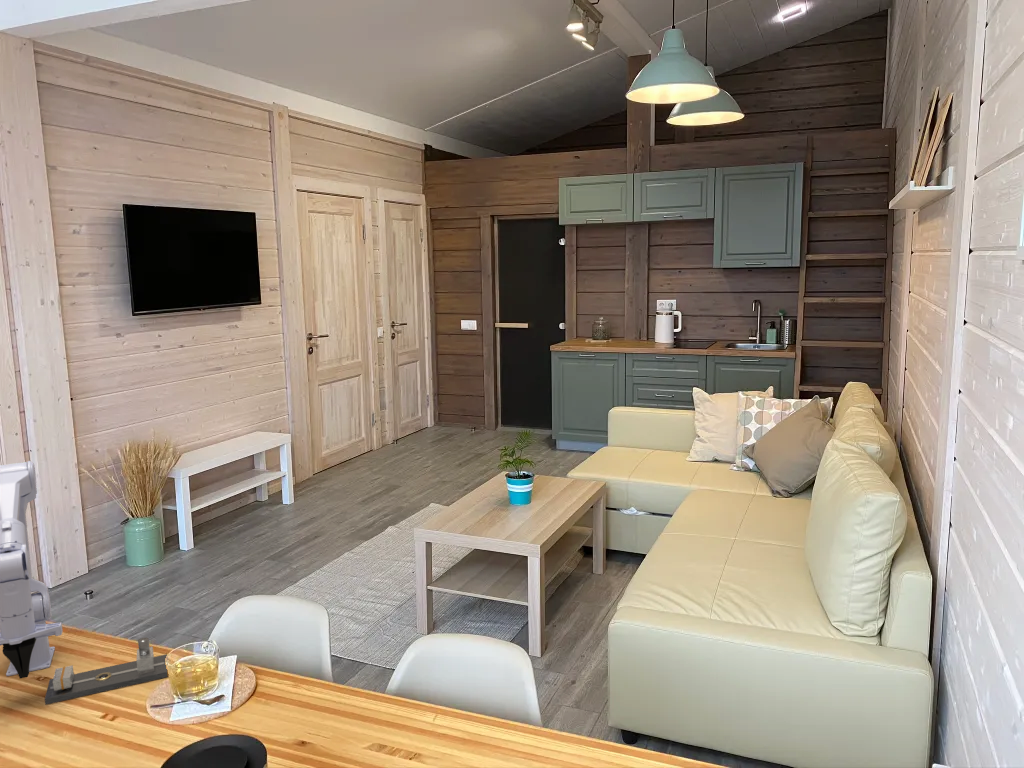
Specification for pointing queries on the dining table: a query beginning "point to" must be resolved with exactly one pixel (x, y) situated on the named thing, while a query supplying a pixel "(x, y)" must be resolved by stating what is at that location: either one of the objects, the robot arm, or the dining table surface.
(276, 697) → the dining table surface
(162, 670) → the plate
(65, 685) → the block
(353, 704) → the dining table surface
